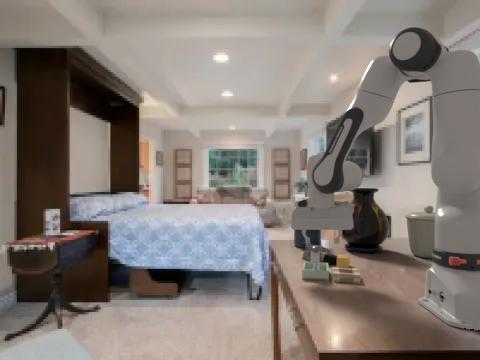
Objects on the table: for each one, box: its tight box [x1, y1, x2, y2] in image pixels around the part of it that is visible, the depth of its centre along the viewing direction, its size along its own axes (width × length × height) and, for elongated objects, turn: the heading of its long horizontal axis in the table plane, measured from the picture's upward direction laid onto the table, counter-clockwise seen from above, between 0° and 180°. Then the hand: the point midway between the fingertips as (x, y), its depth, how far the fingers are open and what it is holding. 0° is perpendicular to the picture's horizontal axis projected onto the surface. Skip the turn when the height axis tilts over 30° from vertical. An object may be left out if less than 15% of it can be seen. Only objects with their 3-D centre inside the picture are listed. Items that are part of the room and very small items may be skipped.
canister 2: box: [404, 205, 436, 259], centre depth 146 cm, size 18×18×21 cm
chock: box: [336, 253, 351, 268], centre depth 127 cm, size 6×4×4 cm, turn 159°
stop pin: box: [310, 246, 322, 270], centre depth 116 cm, size 4×4×9 cm
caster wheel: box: [301, 243, 338, 265], centre depth 134 cm, size 7×11×10 cm
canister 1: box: [293, 230, 322, 249], centre depth 168 cm, size 13×13×18 cm
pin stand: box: [332, 266, 361, 284], centre depth 112 cm, size 8×8×2 cm
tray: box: [301, 261, 330, 282], centre depth 116 cm, size 11×8×3 cm
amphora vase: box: [341, 187, 390, 254], centre depth 158 cm, size 22×22×28 cm
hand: (322, 243), depth 116 cm, fingers open, 8 cm apart
